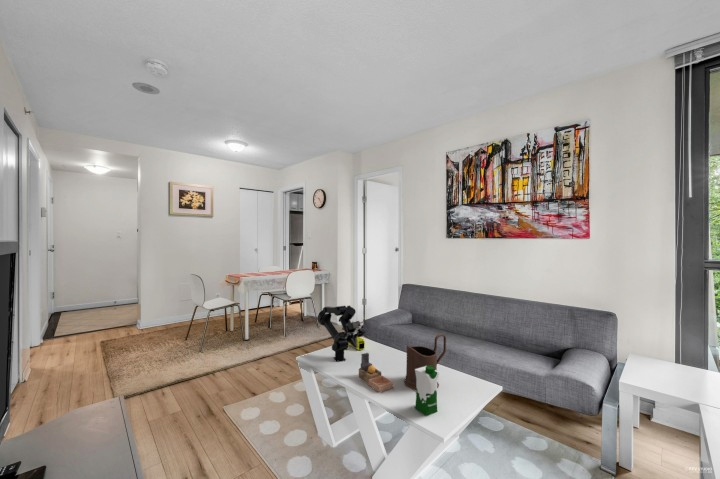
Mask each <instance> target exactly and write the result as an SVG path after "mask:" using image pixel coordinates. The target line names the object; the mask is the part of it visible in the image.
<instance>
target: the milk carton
mask: <svg viewBox="0 0 720 479" xmlns="http://www.w3.org/2000/svg"><path fill="white" fill-rule="evenodd" d="M415 373H416V379H417V380H416V390H415V406H414V409H415V410H417V411H418V412H420V413H421V414H422V415H424V416H425V417H426V416H427V417H428V416H429V415H432V414H434V413H437V412H438V388H437V382H438V380H439V379H438V378H439V375H440V371H438V370H437V371H436V370H435V367H433V366H425V367H421V368H417V369H415Z"/></svg>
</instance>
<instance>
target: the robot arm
mask: <svg viewBox="0 0 720 479" xmlns="http://www.w3.org/2000/svg"><path fill="white" fill-rule="evenodd" d="M332 314H334V315H335V316H337V317H338V318H339V319H338V322H340V324H341V326H342V329H341V330H342V331H338V329H337V328H336V327H335V325H334V323H332V321H331V319H332ZM355 314H356V308H354V307H352V306H351V305H338V306H324V307H323V308H322V310H321V311H320V312H319V313H318V315H317V318H316V321H317V322H318V324H320V325H321V326H323V327H325V329H326V331H327V332H328V333H329V335H330V336H331V338H332V339H333V344H332V345H331V350H332V351H334V352H335V353H334V356H333V357H332V358H333V359H334V360H333V361H334V362H343V361H344V362H345V361H346V358H345V350H346V351H347V350H348V349H349V348H348V347H349V344H348V342H349V343H350V344H351V345H353V346H354V347H355V348H354V349H356V348H357V337H360V338H362V337H364V335H365V334H366V332H367V330H366V329H365V327H362V328H359V327H361V322H360V320H357V321H355V322H351V320H352V319H353V317H354V316H355Z"/></svg>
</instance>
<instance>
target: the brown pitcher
mask: <svg viewBox="0 0 720 479" xmlns="http://www.w3.org/2000/svg"><path fill="white" fill-rule="evenodd" d="M440 337H442V338H443V351H442V353H441V354H440V355H439V356H438V353H437V348H438V339H439V338H440ZM446 352H447V336H446V335H445V334H442V333H440V334H437V335H436V336H435V337H434V348H433V349H432V348H429V347H427V346H424V345H423V346H421V345H414V346H413V345H412V346H410V345H406V368H405V369H406V370H405V371H406V374H405V378H404V380H403V385H405V387H407V388H408V389H410V390H411V391H412V390H413V391H416V380H417V379H416V373H415V369H417V368H421V367H425V366H433V367H435V370H436V371H438V370H437V369H438V367H437V365H438V364H439V362H440V361H441V360H442V358H443V357H444V356H445V354H446ZM439 387H440V384H439V381H437V389H439Z"/></svg>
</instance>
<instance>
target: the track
mask: <svg viewBox="0 0 720 479" xmlns="http://www.w3.org/2000/svg"><path fill="white" fill-rule="evenodd" d="M379 376H382V371H381V370H379V369H377V368H376V367H375V372H374V373H369V371H364V370H362V369H361V367H359V368H358V379H360V380H362V381H363V382H365V383H366V384H367V385H368V380H369V379H372V378H375V377H379Z"/></svg>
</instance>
